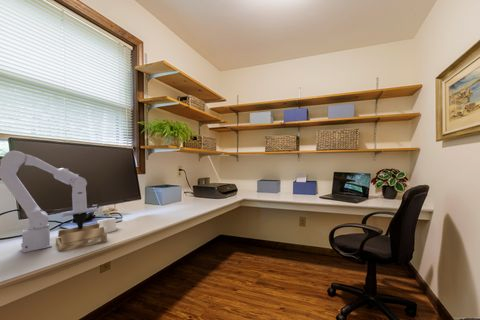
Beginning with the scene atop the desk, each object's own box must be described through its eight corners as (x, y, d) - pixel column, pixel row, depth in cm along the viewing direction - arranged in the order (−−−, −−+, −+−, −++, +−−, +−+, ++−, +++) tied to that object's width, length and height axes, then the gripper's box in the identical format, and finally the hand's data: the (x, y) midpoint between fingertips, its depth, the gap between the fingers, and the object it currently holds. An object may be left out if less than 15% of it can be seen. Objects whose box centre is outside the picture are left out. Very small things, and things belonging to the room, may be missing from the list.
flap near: (61, 244, 98) (61, 243, 98) (60, 235, 99) (60, 234, 99) (104, 234, 109) (104, 234, 109) (103, 227, 111) (103, 226, 111)
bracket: (111, 229, 133) (110, 217, 133) (119, 229, 128) (118, 217, 128) (71, 239, 116) (70, 226, 117) (78, 240, 111) (77, 226, 112)
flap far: (58, 230, 105) (58, 230, 105) (58, 237, 107) (58, 236, 107) (99, 223, 117) (99, 223, 117) (98, 229, 118) (98, 229, 118)
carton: (58, 252, 97) (58, 245, 97) (55, 244, 106) (55, 237, 106) (107, 241, 110) (107, 234, 110) (100, 235, 119) (100, 228, 119)
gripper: (61, 204, 103) (63, 234, 103) (98, 199, 113) (99, 226, 113) (60, 202, 108) (61, 231, 108) (95, 198, 118) (96, 224, 118)
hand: (80, 228), depth 111 cm, fingers closed, pressing on flap far
